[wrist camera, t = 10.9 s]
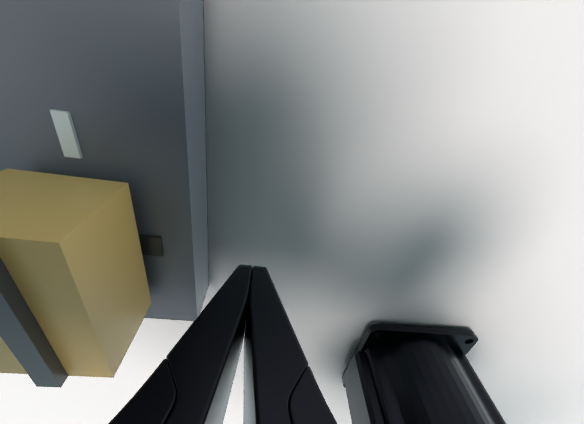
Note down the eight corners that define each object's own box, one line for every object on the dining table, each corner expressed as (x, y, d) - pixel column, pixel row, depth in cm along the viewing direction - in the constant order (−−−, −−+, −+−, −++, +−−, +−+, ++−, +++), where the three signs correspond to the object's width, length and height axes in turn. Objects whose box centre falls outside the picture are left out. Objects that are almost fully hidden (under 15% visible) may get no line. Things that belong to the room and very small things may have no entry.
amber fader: (128, 182, 7) (46, 253, 5) (151, 302, 10) (107, 389, 7) (6, 168, 7) (-149, 235, 4) (65, 296, 9) (-13, 384, 7)
